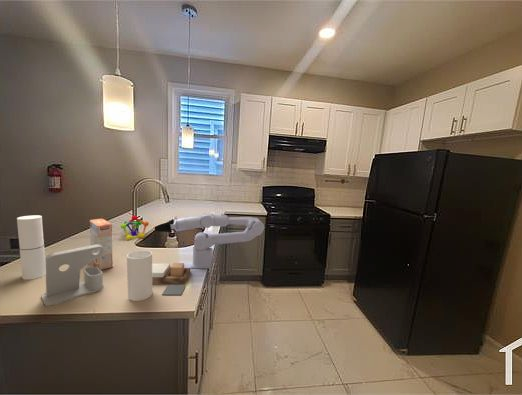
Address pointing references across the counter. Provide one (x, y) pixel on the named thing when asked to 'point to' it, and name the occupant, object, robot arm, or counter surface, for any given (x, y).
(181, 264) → the block
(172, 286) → the pad
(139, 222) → the educational toy
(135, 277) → the cup
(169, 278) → the wooden grid frame
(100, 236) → the cracker box
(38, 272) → the cylindrical container
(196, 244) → the robot arm
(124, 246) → the counter surface
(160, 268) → the cover
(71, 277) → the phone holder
